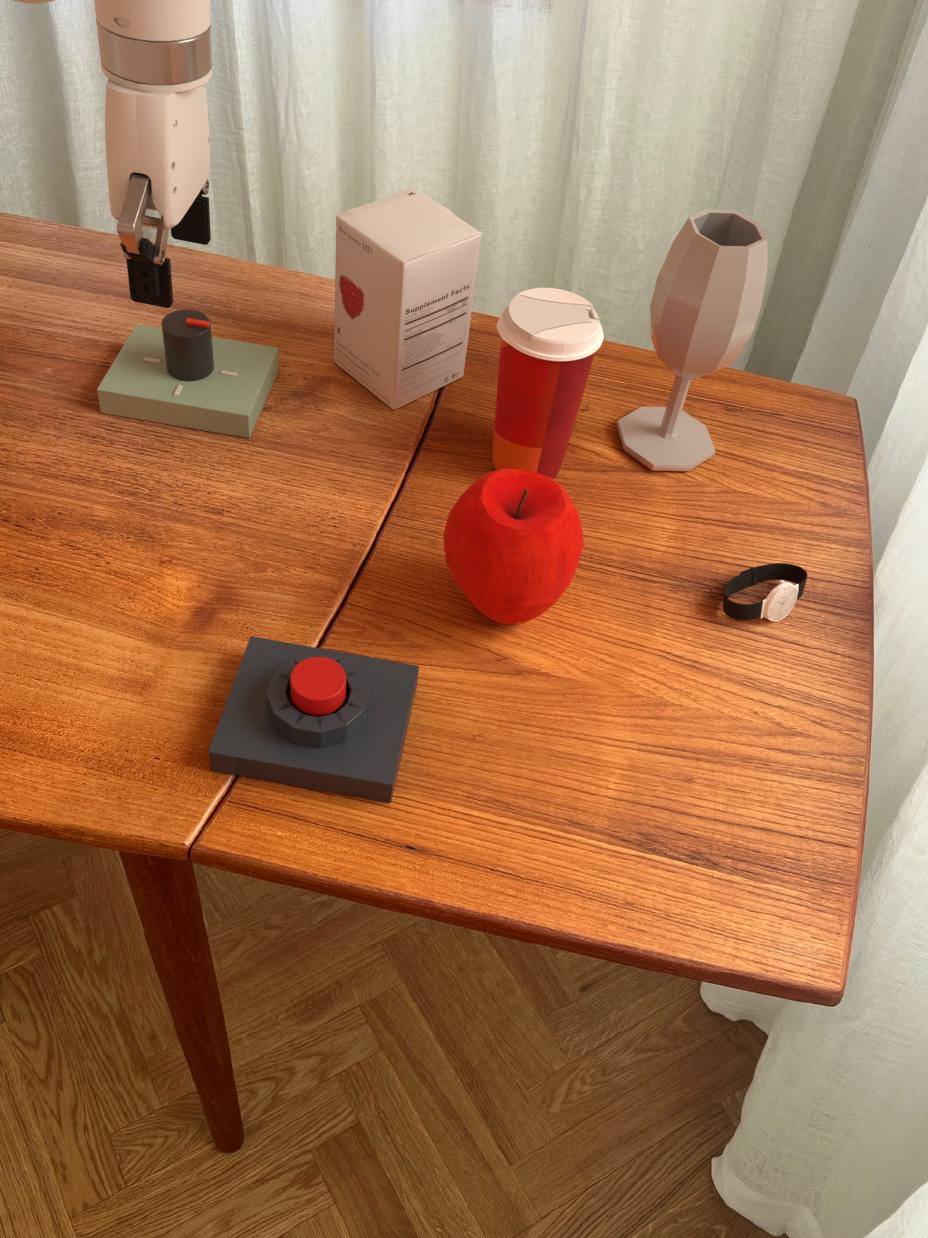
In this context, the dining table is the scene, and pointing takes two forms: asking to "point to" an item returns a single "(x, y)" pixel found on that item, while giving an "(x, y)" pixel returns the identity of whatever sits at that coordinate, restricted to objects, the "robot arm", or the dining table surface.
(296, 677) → the power button
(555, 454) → the coffee cup
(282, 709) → the grey button base
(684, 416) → the wineglass
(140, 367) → the panel
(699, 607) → the dining table surface
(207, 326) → the timer knob
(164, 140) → the robot arm
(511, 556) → the apple
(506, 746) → the dining table surface
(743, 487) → the dining table surface
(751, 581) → the watch
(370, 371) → the rectangular carton
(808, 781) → the dining table surface
